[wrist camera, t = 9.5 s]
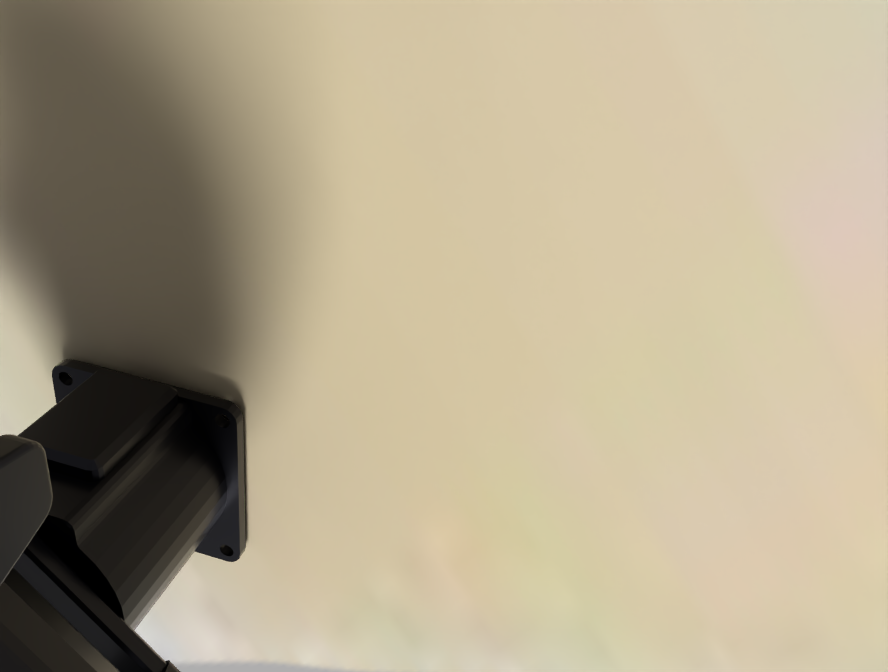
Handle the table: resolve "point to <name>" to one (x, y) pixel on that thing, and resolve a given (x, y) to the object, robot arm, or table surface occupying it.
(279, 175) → the table surface
